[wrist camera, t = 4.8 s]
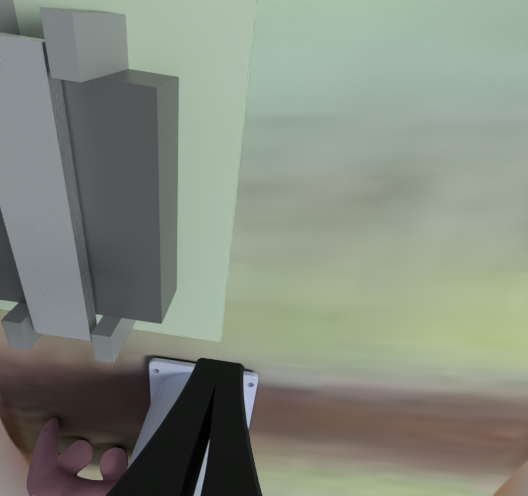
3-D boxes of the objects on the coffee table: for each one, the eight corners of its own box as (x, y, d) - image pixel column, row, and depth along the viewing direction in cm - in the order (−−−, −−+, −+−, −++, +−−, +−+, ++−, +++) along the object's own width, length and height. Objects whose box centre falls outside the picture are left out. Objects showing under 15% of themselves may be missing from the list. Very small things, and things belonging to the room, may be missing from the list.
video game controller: (58, 418, 35) (20, 507, 31) (43, 414, 31) (-4, 514, 27) (160, 440, 35) (134, 528, 32) (157, 438, 31) (127, 539, 28)
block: (98, 330, 20) (91, 340, 19) (43, 322, 20) (35, 332, 19) (55, 41, 13) (41, 41, 12) (-32, 27, 12) (-50, 27, 12)
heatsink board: (222, 335, 25) (207, 399, 21) (-11, 300, 25) (-74, 358, 20) (259, -24, 14) (245, -44, 10) (-150, -92, 14) (-343, -141, 10)
